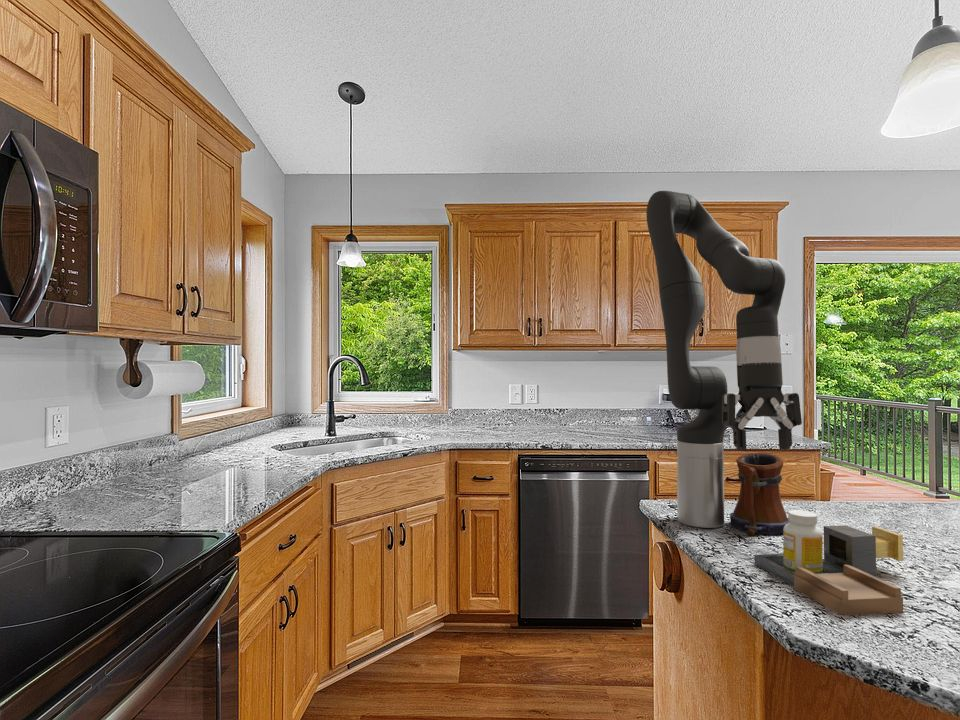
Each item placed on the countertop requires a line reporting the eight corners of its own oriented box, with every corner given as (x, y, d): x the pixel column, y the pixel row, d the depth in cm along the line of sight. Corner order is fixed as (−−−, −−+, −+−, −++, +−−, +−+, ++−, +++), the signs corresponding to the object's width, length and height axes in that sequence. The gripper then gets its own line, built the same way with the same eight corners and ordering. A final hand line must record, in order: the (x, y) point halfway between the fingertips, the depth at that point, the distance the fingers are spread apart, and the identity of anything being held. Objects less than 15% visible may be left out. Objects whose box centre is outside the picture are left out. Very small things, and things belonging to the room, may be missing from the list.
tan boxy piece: (843, 551, 90) (842, 527, 91) (876, 550, 91) (876, 526, 91) (867, 562, 85) (867, 536, 86) (903, 560, 86) (902, 535, 86)
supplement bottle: (779, 574, 87) (778, 513, 87) (788, 565, 91) (787, 507, 91) (818, 583, 83) (817, 519, 83) (826, 573, 87) (825, 512, 87)
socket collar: (754, 564, 91) (754, 554, 91) (810, 561, 92) (809, 552, 92) (795, 587, 81) (794, 577, 81) (857, 584, 82) (856, 574, 83)
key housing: (824, 565, 91) (823, 526, 91) (846, 564, 91) (845, 525, 91) (852, 579, 85) (851, 536, 85) (876, 578, 85) (875, 535, 85)
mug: (778, 547, 100) (777, 465, 100) (712, 536, 107) (712, 459, 108) (796, 526, 114) (795, 454, 114) (737, 517, 121) (736, 449, 121)
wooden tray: (794, 588, 81) (794, 566, 81) (850, 586, 82) (850, 564, 82) (840, 615, 72) (840, 590, 72) (903, 612, 73) (902, 588, 73)
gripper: (781, 364, 107) (785, 447, 106) (712, 363, 106) (715, 448, 104) (808, 360, 100) (813, 450, 98) (734, 360, 98) (738, 451, 97)
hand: (763, 449), depth 101 cm, fingers open, 8 cm apart
